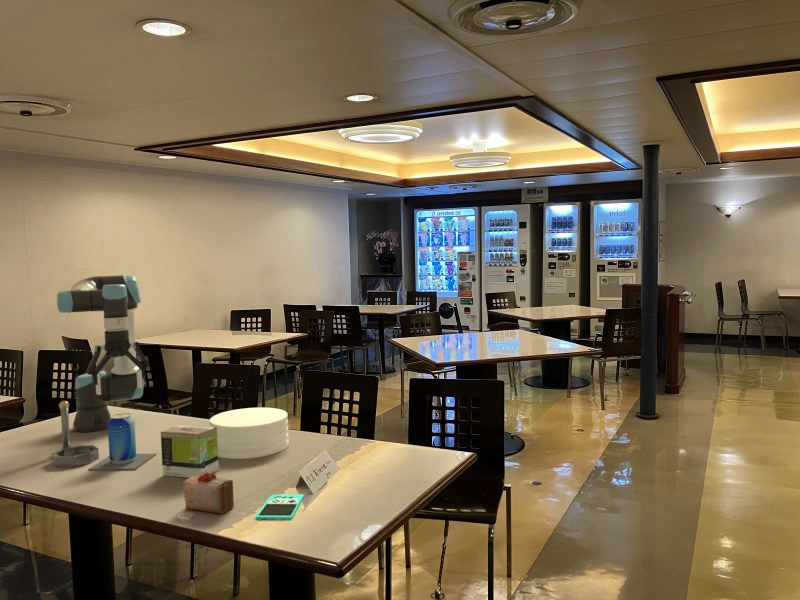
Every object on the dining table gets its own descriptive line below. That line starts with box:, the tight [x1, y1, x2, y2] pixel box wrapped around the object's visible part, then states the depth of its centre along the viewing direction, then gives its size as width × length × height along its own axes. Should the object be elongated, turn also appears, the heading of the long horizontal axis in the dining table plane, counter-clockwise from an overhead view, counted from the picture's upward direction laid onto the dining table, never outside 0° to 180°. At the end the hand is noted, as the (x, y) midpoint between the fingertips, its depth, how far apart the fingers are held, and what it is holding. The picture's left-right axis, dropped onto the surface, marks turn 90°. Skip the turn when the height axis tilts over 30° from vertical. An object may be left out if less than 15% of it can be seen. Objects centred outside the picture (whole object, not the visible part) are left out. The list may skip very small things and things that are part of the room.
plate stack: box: [209, 407, 289, 460], centre depth 227 cm, size 28×28×12 cm
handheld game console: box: [255, 493, 305, 521], centre depth 170 cm, size 10×16×1 cm, turn 177°
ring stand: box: [51, 400, 100, 469], centre depth 217 cm, size 18×18×20 cm
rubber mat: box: [87, 453, 157, 471], centre depth 212 cm, size 16×16×1 cm
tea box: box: [160, 423, 219, 479], centre depth 200 cm, size 15×10×15 cm
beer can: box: [107, 412, 137, 464], centre depth 212 cm, size 8×8×16 cm
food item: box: [182, 472, 235, 515], centre depth 171 cm, size 14×8×10 cm, turn 70°
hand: (119, 391), depth 211 cm, fingers open, 13 cm apart
